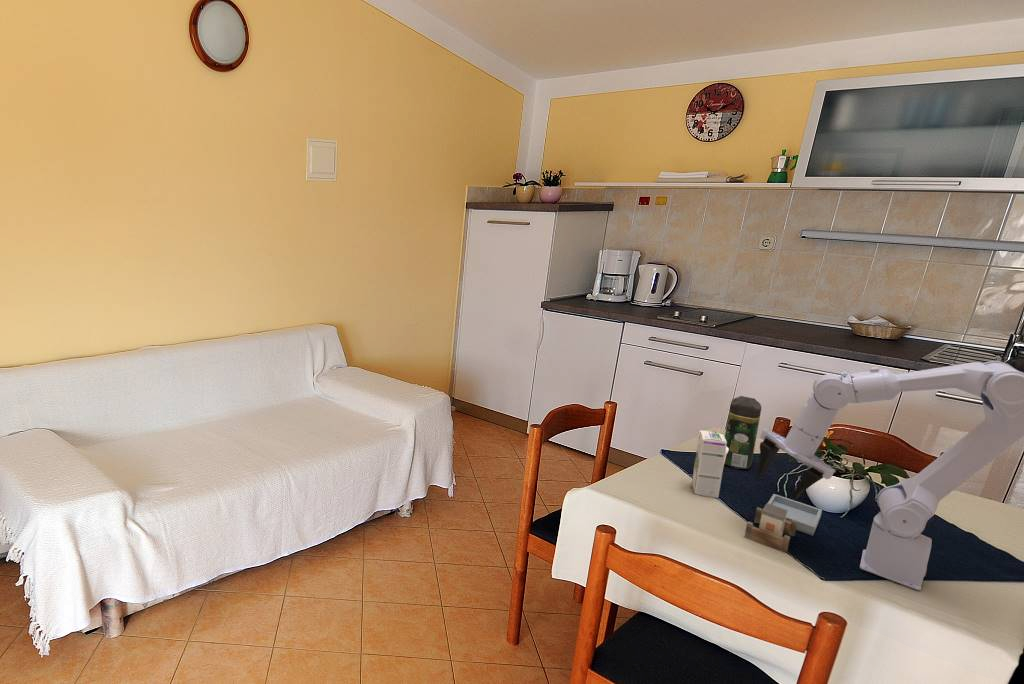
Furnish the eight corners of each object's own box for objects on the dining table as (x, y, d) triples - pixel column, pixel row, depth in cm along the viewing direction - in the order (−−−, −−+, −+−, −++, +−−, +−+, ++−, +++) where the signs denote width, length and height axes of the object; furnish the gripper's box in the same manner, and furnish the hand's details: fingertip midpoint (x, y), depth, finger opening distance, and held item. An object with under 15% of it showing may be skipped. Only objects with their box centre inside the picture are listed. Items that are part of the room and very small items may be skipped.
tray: (820, 517, 121) (822, 509, 120) (813, 536, 113) (815, 527, 112) (772, 501, 127) (773, 493, 126) (761, 517, 119) (763, 509, 118)
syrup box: (718, 498, 126) (729, 441, 123) (693, 494, 127) (702, 437, 124) (714, 487, 131) (724, 432, 128) (690, 483, 132) (699, 429, 129)
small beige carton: (782, 536, 112) (787, 510, 111) (778, 544, 109) (783, 517, 107) (761, 528, 114) (766, 503, 113) (757, 536, 111) (762, 510, 110)
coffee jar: (722, 453, 153) (733, 392, 149) (751, 460, 150) (763, 397, 146) (718, 465, 145) (730, 400, 141) (750, 473, 141) (762, 407, 137)
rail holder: (794, 534, 113) (797, 521, 112) (786, 553, 105) (789, 538, 105) (755, 520, 117) (757, 507, 117) (744, 536, 110) (747, 523, 109)
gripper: (766, 412, 108) (737, 467, 112) (837, 454, 98) (802, 512, 102) (781, 410, 112) (752, 463, 117) (850, 450, 102) (816, 506, 107)
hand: (776, 485), depth 110 cm, fingers open, 7 cm apart
